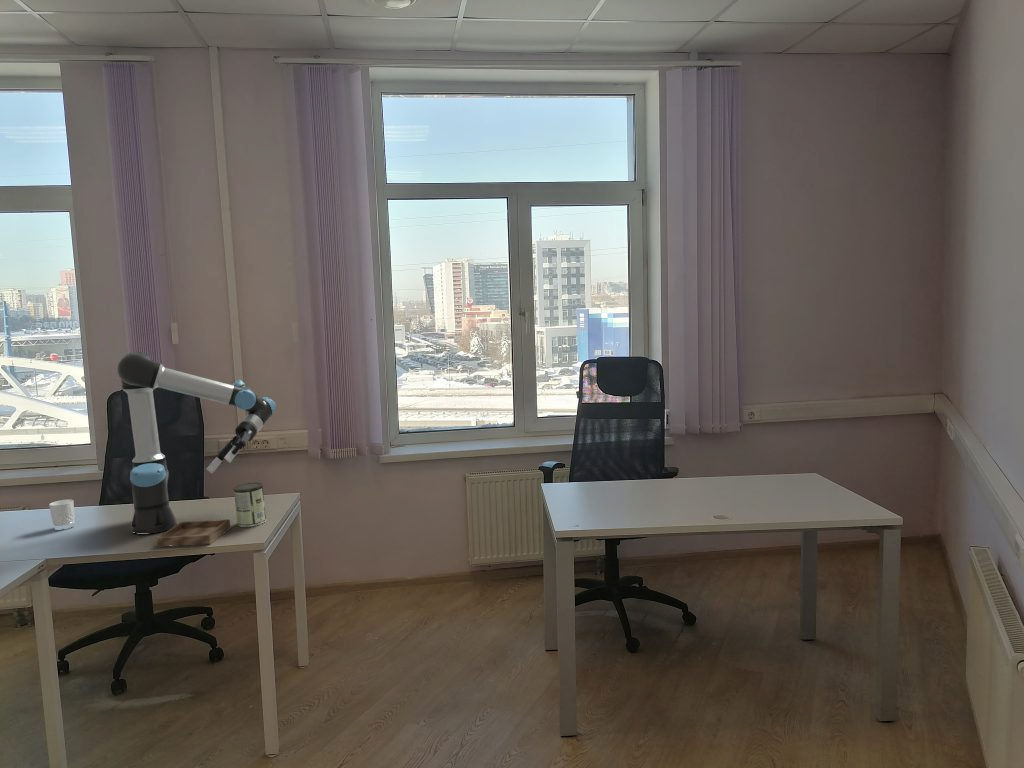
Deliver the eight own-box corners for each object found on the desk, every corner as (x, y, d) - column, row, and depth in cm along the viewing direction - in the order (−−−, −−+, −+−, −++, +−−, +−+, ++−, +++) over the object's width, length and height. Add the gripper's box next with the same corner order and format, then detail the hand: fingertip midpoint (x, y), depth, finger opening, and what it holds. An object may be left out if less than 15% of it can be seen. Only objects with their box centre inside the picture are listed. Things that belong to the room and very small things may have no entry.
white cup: (76, 528, 287) (73, 502, 285) (52, 532, 283) (49, 506, 281) (76, 523, 293) (73, 498, 292) (52, 527, 289) (49, 502, 288)
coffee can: (244, 519, 286) (240, 482, 284) (270, 518, 285) (266, 481, 283) (232, 527, 276) (228, 490, 274) (259, 526, 275) (256, 489, 273)
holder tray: (158, 547, 258) (157, 538, 258) (181, 530, 276) (180, 521, 276) (210, 544, 258) (209, 535, 257) (230, 527, 276) (229, 519, 275)
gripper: (272, 423, 291) (242, 462, 275) (239, 444, 305) (209, 482, 290) (258, 410, 288) (227, 448, 272) (225, 432, 303) (194, 469, 287)
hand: (217, 465), depth 281 cm, fingers open, 13 cm apart
